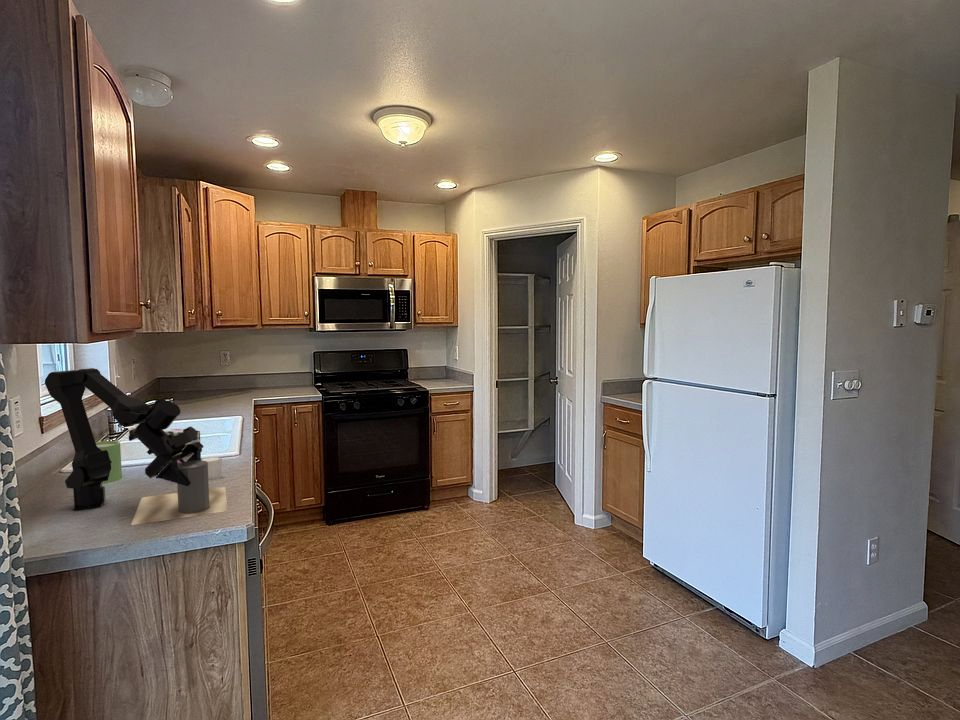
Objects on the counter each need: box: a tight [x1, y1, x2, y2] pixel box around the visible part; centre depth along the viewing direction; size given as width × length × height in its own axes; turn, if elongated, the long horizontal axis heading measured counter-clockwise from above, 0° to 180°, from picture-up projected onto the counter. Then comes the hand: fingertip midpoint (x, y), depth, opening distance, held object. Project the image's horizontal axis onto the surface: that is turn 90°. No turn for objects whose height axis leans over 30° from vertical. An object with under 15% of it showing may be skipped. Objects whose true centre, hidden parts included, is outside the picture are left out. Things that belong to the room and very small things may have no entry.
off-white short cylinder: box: [201, 456, 223, 481], centre depth 175 cm, size 7×7×7 cm
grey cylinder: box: [176, 460, 210, 514], centre depth 144 cm, size 7×7×12 cm
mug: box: [95, 440, 123, 485], centre depth 174 cm, size 13×10×12 cm
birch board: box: [130, 486, 228, 526], centre depth 149 cm, size 22×24×1 cm
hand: (198, 480), depth 144 cm, fingers open, 8 cm apart
